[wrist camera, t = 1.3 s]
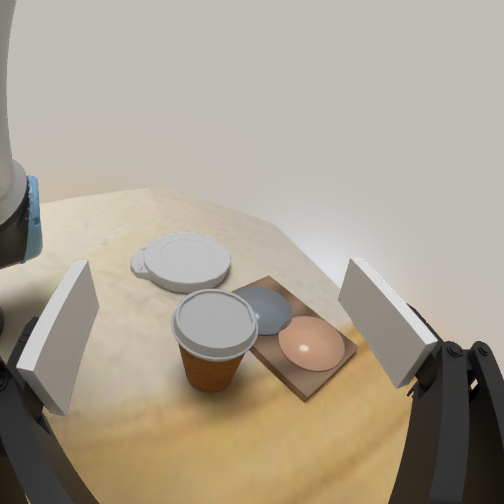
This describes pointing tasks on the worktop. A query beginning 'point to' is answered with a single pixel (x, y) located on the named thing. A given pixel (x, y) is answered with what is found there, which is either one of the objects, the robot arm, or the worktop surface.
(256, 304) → the slate disc
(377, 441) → the worktop surface
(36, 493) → the robot arm
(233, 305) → the disposable coffee cup
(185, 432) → the worktop surface
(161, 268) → the lid
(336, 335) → the terracotta disc
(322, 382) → the walnut board
